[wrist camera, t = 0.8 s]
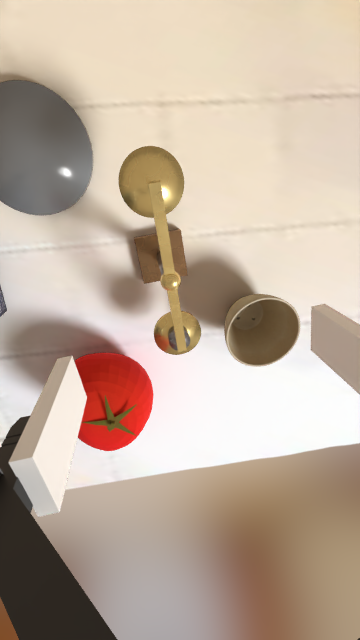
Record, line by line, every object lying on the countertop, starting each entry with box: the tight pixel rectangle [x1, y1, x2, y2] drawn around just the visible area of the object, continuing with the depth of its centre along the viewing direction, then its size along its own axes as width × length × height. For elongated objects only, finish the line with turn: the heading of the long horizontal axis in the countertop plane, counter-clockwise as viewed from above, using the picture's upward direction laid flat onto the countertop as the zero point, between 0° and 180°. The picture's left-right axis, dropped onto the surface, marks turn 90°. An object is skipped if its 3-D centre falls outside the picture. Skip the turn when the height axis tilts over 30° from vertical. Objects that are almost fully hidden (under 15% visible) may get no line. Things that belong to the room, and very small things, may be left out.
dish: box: [0, 80, 93, 215], centre depth 34 cm, size 13×13×1 cm
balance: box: [119, 146, 201, 355], centre depth 34 cm, size 6×24×15 cm, turn 9°
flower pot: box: [224, 294, 300, 367], centre depth 43 cm, size 10×10×7 cm
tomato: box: [74, 353, 153, 451], centre depth 42 cm, size 12×14×12 cm
